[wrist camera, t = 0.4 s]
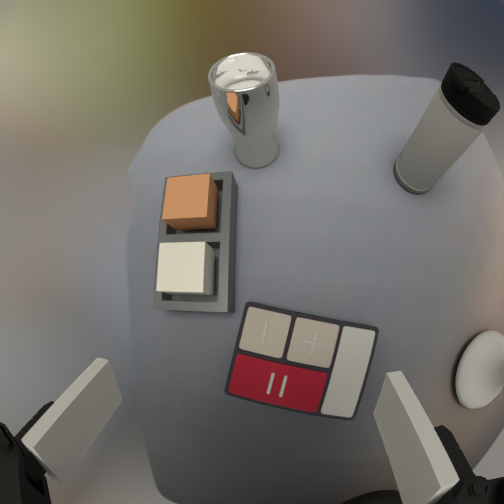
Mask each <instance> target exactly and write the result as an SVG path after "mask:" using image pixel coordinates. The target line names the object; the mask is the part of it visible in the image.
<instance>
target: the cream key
mask: <svg viewBox="0 0 504 504" xmlns="http://www.w3.org/2000/svg"><path fill="white" fill-rule="evenodd" d="M214 264H215V250H214V249H212V248H211V247H210V246H209V245H208V244H207V243H206V242H176V243H160V246H159V258H158V272H157V289H156V291H158V292H163V293H168V294H177V295H214Z"/></svg>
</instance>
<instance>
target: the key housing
mask: <svg viewBox="0 0 504 504" xmlns="http://www.w3.org/2000/svg"><path fill="white" fill-rule="evenodd" d="M205 174H210V175H211V177H212V179H213V181H214V182H215V184H216V186H217V188H218V201H217V219H216V229H195V230H175V229H174V228H172V227H171V226H170V225H169V224H167V223H166V222H165V221H164V220H162V216H163V208H164V200H165V192H166V185H167V178H171V177H166V178H165V185H164V192H163V199H162V207H161V215H160V224H159V233H158V243H157V255H156V268H155V284H154V305H153V309H162V310H178V311H199V312H230V313H234V305H235V255H236V218H237V187H238V186H237V183H236V181H235V178H234V175H233V173H232V172H217V173H205ZM194 175H201V174H194ZM184 176H190V175H184ZM174 177H180V176H174ZM176 242H206V243H207V244H208V245H209V246H210V247H211V248H212V249H214V250H215V264H214V295H177V294H168V293H163V292H158V291H156V289H157V272H158V258H159V246H160V243H176Z"/></svg>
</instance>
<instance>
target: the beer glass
mask: <svg viewBox="0 0 504 504" xmlns="http://www.w3.org/2000/svg"><path fill="white" fill-rule="evenodd" d="M208 80H209V82H210V87H211V91H212V96H213V100H214V103H215V106H216V109H217V111H218V114H219V116H220V118H221V120H222V121H223V123H224V125H225V126H226V128H227V129H228V131H229V132H230V134H231V135H232V137H233V139H234V141H235V154H236V157H237V159H238V160H239V161H240V162H241V163H242V164H243V165H245V166H247V167H251V168H261V167H265V166H267V165H269V164H271V163H272V162H273V161H274V160H275V159H276V158H277V156H278V153H279V145H278V142H277V139H276V137H275V128H276V123H277V118H278V113H279V89H278V83H277V77H276V73H275V66H274V63H273V62H272V61H271V60H270V59H269V58H268V57H266V56H264V55H261V54H257V53H237V54H233V55H229V56H227V57H224V58H223V59H221V60H219V61H218V62H216V63H215V64H214V65H213V66H212V67H211V69H210V71H209V73H208Z"/></svg>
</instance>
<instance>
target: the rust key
mask: <svg viewBox="0 0 504 504" xmlns="http://www.w3.org/2000/svg"><path fill="white" fill-rule="evenodd" d="M217 201H218V188H217V186H216V184H215V182H214V181H213V179H212V177H211V175H210V174H201V175H190V176H180V177H171V178H167V185H166V192H165V200H164V208H163V216H162V220H164V221H165V222H166V223H167V224H169V225H170V226H171V227H172V228H174V229H175V230H195V229H216V219H217Z"/></svg>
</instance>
